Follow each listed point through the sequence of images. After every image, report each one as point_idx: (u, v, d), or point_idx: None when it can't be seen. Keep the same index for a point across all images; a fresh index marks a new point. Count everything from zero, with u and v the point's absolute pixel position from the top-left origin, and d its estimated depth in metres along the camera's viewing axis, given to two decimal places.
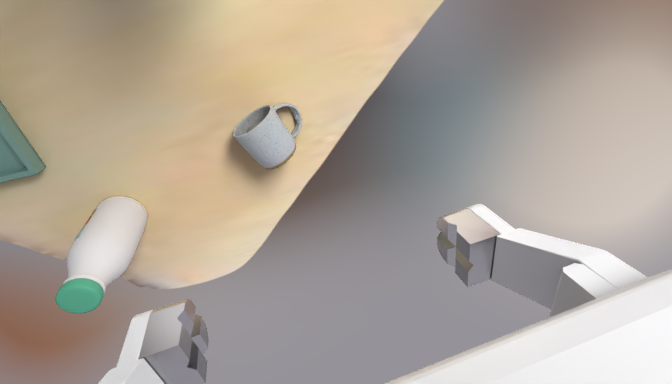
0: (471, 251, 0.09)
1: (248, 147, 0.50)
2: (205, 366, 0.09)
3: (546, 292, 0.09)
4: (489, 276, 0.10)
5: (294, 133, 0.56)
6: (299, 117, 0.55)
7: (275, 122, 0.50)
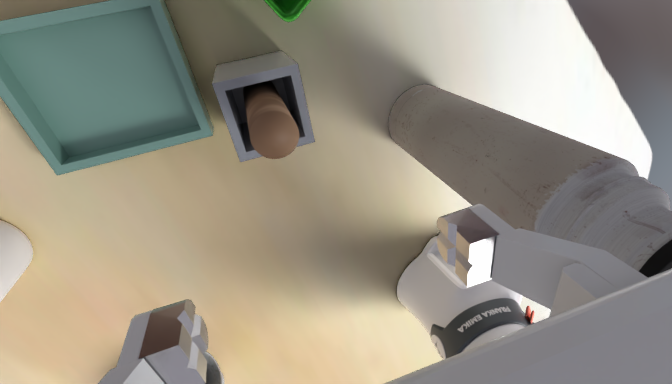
0: (471, 251, 0.09)
1: None
2: (205, 366, 0.09)
3: (546, 292, 0.09)
4: (489, 276, 0.10)
5: None
6: None
7: None
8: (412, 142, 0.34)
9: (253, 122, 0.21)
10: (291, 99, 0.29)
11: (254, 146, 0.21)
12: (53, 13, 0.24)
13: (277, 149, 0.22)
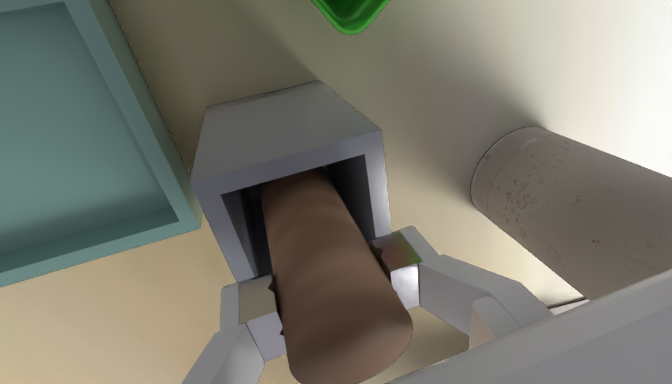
0: (393, 278, 0.09)
1: None
2: None
3: (468, 322, 0.09)
4: (419, 302, 0.10)
5: None
6: None
7: None
8: (532, 230, 0.20)
9: (299, 327, 0.07)
10: (343, 174, 0.16)
11: (298, 376, 0.08)
12: None
13: (355, 370, 0.09)
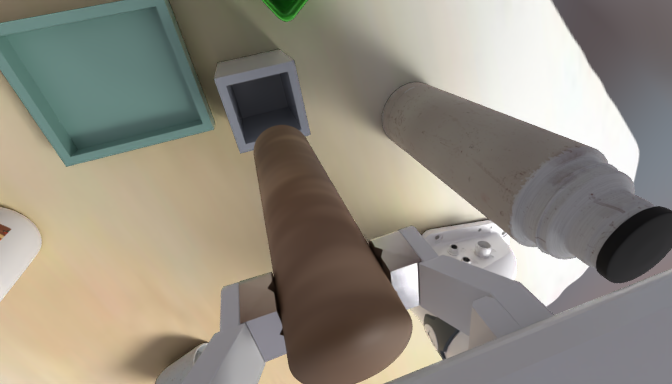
0: (393, 278, 0.09)
1: None
2: None
3: (468, 322, 0.09)
4: (420, 302, 0.10)
5: None
6: None
7: None
8: (404, 136, 0.35)
9: (299, 326, 0.07)
10: (288, 95, 0.31)
11: (298, 375, 0.08)
12: (65, 13, 0.26)
13: (354, 369, 0.09)
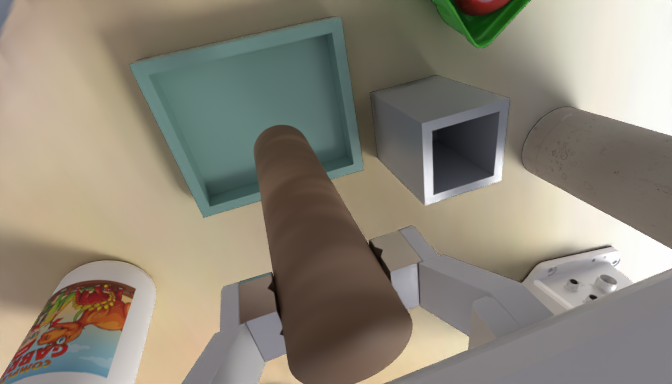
0: (393, 278, 0.09)
1: None
2: None
3: (468, 322, 0.09)
4: (419, 302, 0.10)
5: None
6: None
7: None
8: (572, 173, 0.31)
9: (298, 325, 0.07)
10: (462, 131, 0.27)
11: (298, 375, 0.08)
12: (234, 44, 0.21)
13: (354, 368, 0.08)
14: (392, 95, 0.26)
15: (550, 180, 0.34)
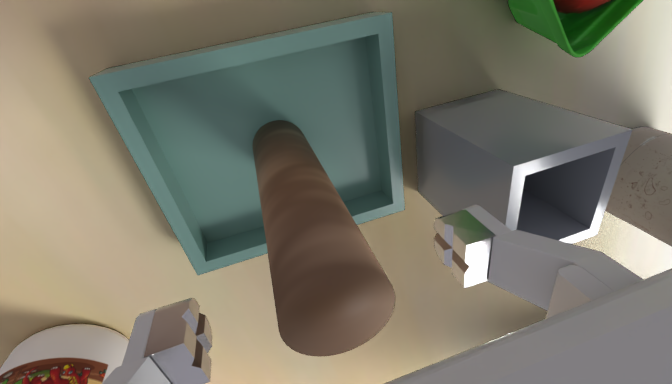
0: (467, 252, 0.09)
1: None
2: (209, 364, 0.09)
3: (542, 294, 0.09)
4: (486, 277, 0.10)
5: None
6: None
7: None
8: (662, 212, 0.24)
9: (288, 292, 0.08)
10: None
11: (288, 341, 0.09)
12: (242, 48, 0.15)
13: (341, 338, 0.09)
14: (448, 117, 0.20)
15: (623, 217, 0.28)
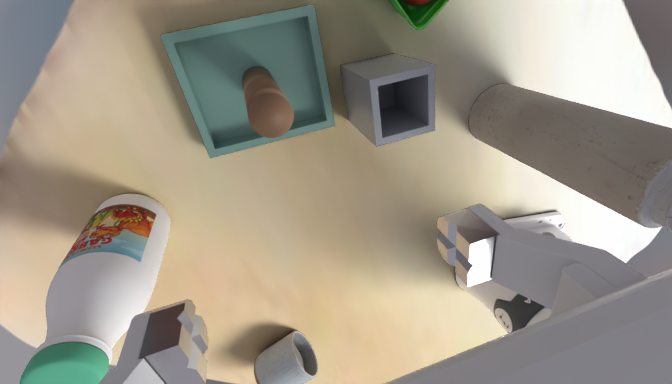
0: (471, 251, 0.09)
1: (286, 369, 0.49)
2: (205, 366, 0.09)
3: (546, 292, 0.09)
4: (489, 276, 0.10)
5: None
6: None
7: None
8: (501, 133, 0.39)
9: (251, 103, 0.23)
10: (409, 94, 0.35)
11: (252, 125, 0.23)
12: (235, 22, 0.29)
13: (273, 129, 0.24)
14: (355, 66, 0.34)
15: (488, 142, 0.42)
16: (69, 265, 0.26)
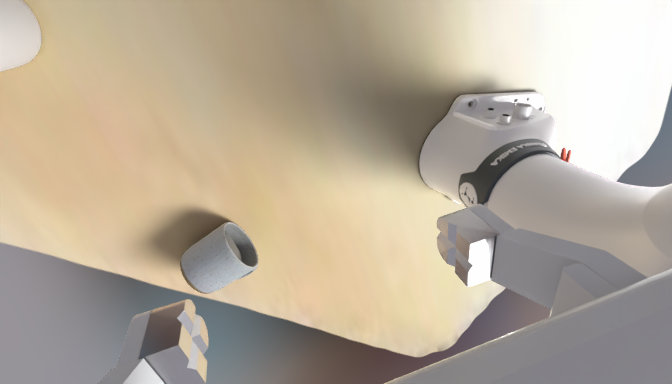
0: (471, 251, 0.09)
1: (214, 254, 0.42)
2: (205, 366, 0.09)
3: (546, 292, 0.09)
4: (489, 276, 0.10)
5: None
6: (242, 276, 0.51)
7: (246, 273, 0.45)
8: None
9: None
10: None
11: None
12: None
13: None
14: None
15: None
16: None
